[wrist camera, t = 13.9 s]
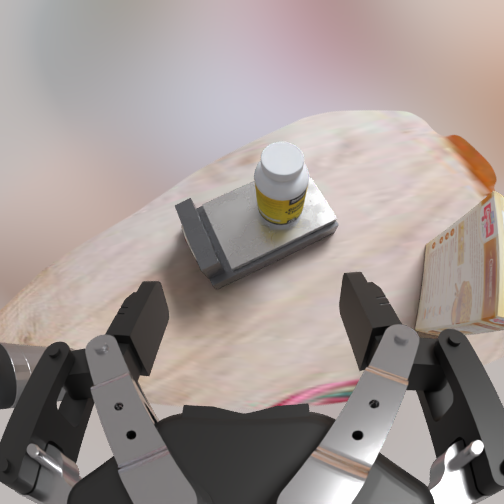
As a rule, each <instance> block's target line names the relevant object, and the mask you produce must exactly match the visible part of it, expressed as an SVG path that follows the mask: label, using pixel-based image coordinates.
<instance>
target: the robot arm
mask: <svg viewBox="0 0 504 504" xmlns="http://www.w3.org/2000/svg"><path fill="white" fill-rule="evenodd" d="M339 309H340V315H341V318H342V321H343V323H344V326H345V329H346V332H347V335H348V338H349V341H350V344H351V346H352V349H353V352H354V355H355V358H356V361H357V364H358V368H359V371H361V370H365V371H364V372H363V374H362V376H361V378H360V380H359V382H358V384H357V385H356V387H355V389H354V391H353V392H352V394H351V396H350V398H349V399H348V401H347V403H346V404H345V406H344V408H343V409H342V411H341V413H340V414H339V416H338V418H337V419H336V420H335V419H333V418H331V417H329V416H326V415H323V414H319V413H315V412H309V405H308V404H298V405H284V406H275V407H271V408H268V409H264V410H260V411H256V412H252V413H246V414H242V413H238V412H233V411H229V410H225V409H221V408H217V407H210V406H191V405H184V407H183V413H181V414H177V415H172V416H169V417H167V418H164V419H162V420H161V421H159V420H158V418H157V416H156V415H155V413H154V411H153V410H152V407H151V406H150V404H149V402H148V400H147V398H146V396H145V394H144V392H143V390H142V388H141V386H140V384H139V382H138V379H139V376H140V375H142V376H150V373H151V370H152V367H153V364H154V361H155V358H156V355H157V352H158V349H159V346H160V343H161V340H162V338H163V335H164V332H165V329H166V326H167V324H168V320H169V310H168V306H167V303H166V299H165V296H164V292H163V289H162V285H161V283H160V282H159V281H144V282H142V284H141V285H140V287H139V289H138V291H137V292H133V293H132V294H131V295H130V296H129V297H127V298H126V299H125V301H124V302H123V304H122V306H121V308H120V309H119V311H118V313H117V314H116V316H115V318H114V320H113V321H112V323H111V325H110V327H109V328H108V330H107V332H106V334H105V335H100V336H97V337H95V338H94V339H92V340H91V341H90V342H89V343H88V344H87V346H86V349H80V350H73V349H70V348H69V346H68V345H67V344H66V343H65V342H56V343H53V344H51V345H50V346H48V347H42V346H30V345H19V344H9V343H1V342H0V409H7V408H14V410H13V413H12V415H11V417H10V420H9V422H8V424H7V427H6V429H5V432H4V434H3V436H2V439H1V442H0V482H2V483H3V484H5V485H6V486H8V487H10V488H11V489H13V490H15V491H16V492H17V493H19V494H20V495H22V496H24V497H26V498H28V499H30V500H31V501H34V502H35V503H37V504H476V503H478V502H480V501H482V500H484V499H486V498H488V497H490V496H492V495H493V494H495V493H497V492H499V491H501V490H502V489H504V408H503V405H502V403H501V401H500V399H499V397H498V395H497V392H496V390H495V388H494V386H493V384H492V382H491V380H490V378H489V377H488V375H487V373H486V371H485V369H484V367H483V365H482V363H481V361H480V360H479V358H478V356H477V354H476V353H475V351H474V349H473V347H472V346H471V344H470V342H469V341H468V339H467V337H466V336H465V335H464V334H463V333H461V332H460V331H458V330H455V329H445V330H443V331H442V332H441V333H440V334H439V336H438V338H437V339H431V338H420V337H419V336H418V334H417V332H416V331H415V330H414V329H412V328H411V327H409V326H406V325H402V324H401V322H400V320H399V318H398V317H397V315H396V313H395V311H394V310H393V308H392V306H391V305H390V304H389V301H388V299H387V298H386V297H385V294H384V293H383V291H382V290H381V288H380V287H378V286H377V285H376V284H374V283H373V282H367V281H366V279H365V277H364V276H363V274H362V272H351V273H344V275H343V279H342V287H341V295H340V302H339ZM406 390H416V392H417V394H418V397H419V400H420V403H421V406H422V409H423V412H424V416H425V419H426V422H427V425H428V429H429V432H430V435H431V439H432V442H433V446H434V450H435V454H436V458H437V459H436V460H435V461H434V462H433V464H432V466H431V469H430V483H429V486H428V487H427V486H426V485H425V484H424V483H422V482H421V481H419V480H418V479H416V478H415V477H413V476H412V475H410V474H409V473H408V472H406V471H405V470H403V469H402V468H400V467H399V466H397V465H396V464H395V463H393V462H392V461H390V460H389V459H388V458H386V457H385V456H384V455H382V454H381V453H380V452H379V451H380V449H381V447H382V445H383V443H384V441H385V439H386V437H387V435H388V433H389V430H390V428H391V426H392V424H393V421H394V419H395V417H396V414H397V412H398V409H399V407H400V405H401V402H402V399H403V397H404V394H405V391H406ZM57 401H62V402H61V404H60V407H59V409H57ZM94 403H95V405H96V409H97V412H98V415H99V418H100V421H101V424H102V427H103V429H104V432H105V434H106V437H107V440H108V442H109V445H110V447H111V450H112V452H113V455H114V456H113V457H112V458H110V459H109V460H108V461H106V462H105V463H104V464H102V465H101V466H100V467H98V468H97V469H96V470H94V471H93V472H91V473H90V474H88V475H87V476H85V477H84V478H83V479H82V478H81V477H80V476H79V469H78V467H77V465H76V461H77V458H78V454H79V450H80V447H81V443H82V440H83V437H84V433H85V430H86V427H87V424H88V421H89V417H90V414H91V411H92V408H93V405H94Z"/></svg>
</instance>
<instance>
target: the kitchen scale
mask: <svg viewBox="0 0 504 504" xmlns="http://www.w3.org/2000/svg"><path fill="white" fill-rule="evenodd" d="M175 208H176V210H177V213H178V215H179V218H180V220H181V223H182V230H183V233H184V236H185V240H186V242H187V243H188V246H189V248H190V250H191V252H192V254H193V256H194V257H195V259H196V261H197V262H198V265H199V267H200V269H201V271H202V272H203V273H204V274H205V275H206V276H207V277H208V278H209V279H210V281H211V283H212V285H213V286H214V287H215V288H216V289H219V288H221V287H223V286H225V285H227V284H229V283H232V282H234V281H236V280H238V279H240V278H242V277H244V276H246V275H248V274H251V273H253V272H255V271H257V270H259V269H261V268H263V267H265V266H267V265H269V264H271V263H273V262H275V261H278V260H280V259H282V258H284V257H286V256H288V255H290V254H292V253H294V252H296V251H298V250H300V249H302V248H304V247H306V246H308V245H310V244H312V243H314V242H316V241H318V240H320V239H322V238H324V237H326V236H328V235H330V234H332V233H334V232H335V231H336V229H337V227H338V223H337V222H334V223H332V224H330V225H328V226H326V227H324V228H322V229H320V230H317V231H315V232H313V233H311V234H309V235H307V236H305V237H303V238H301V239H299V240H297V241H295V242H293V243H291V244H288V245H286V246H284V247H282V248H280V249H278V250H276V251H274V252H272V253H270V254H268V255H266V256H263V257H261V258H259V259H257V260H255V261H253V262H251V263H249V264H247V265H245V266H243V267H240V268H238V269H236V270H234V271H233V270H232V268H231V266H230V264H229V262H228V260H227V258H226V255H225V253H224V251H223V249H222V247H221V245H220V242H219V240H218V238H217V236H216V234H215V232H214V229H213V227H212V225H211V223H210V221H209V218H208V216H207V214H206V212H205V209H204V207H203V206H201V207H199V208H197V209H196V207H195V205H194V203H193V201H192V200H191V198H190V199H187V200H185V201H183V202H181V203H179V204H177V205H175Z"/></svg>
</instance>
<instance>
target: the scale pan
mask: <svg viewBox="0 0 504 504" xmlns="http://www.w3.org/2000/svg"><path fill="white" fill-rule="evenodd" d="M203 207H204V209H205V212H206V214H207V216H208V218H209V221H210V223H211V225H212V227H213V229H214V232H215V234H216V236H217V238H218V240H219V242H220V245H221V247H222V249H223V251H224V253H225V255H226V258H227V260H228V262H229V264H230V266H231V268H232V270H233V271H234V270H236V269H238V268H240V267H243V266H245V265H247V264H249V263H251V262H253V261H255V260H257V259H259V258H261V257H263V256H266V255H268V254H270V253H272V252H274V251H276V250H278V249H280V248H282V247H284V246H286V245H288V244H291V243H293V242H295V241H297V240H299V239H301V238H303V237H305V236H307V235H309V234H311V233H313V232H315V231H317V230H320V229H322V228H324V227H326V226H328V225H330V224H332V223H334V222H336V220H337V217H336V215H335V214H334V212H333V211H332V209H331V208H330V206H329V204H328V203H327V201H326V200H325V198H324V197H323V195H322V194H321V192H320V191H319V189H318V188H317V186H316V185H315V183H314V182H313V180H312V179H311V177H310V176H309V183H308V188H307V192H306V197H305V202H304V207H303V211H302V213H301V215H300V216H299V218H298V219H297V220H296V221H294V222H293V223H291V224H288V225H283V226H279V225H274V224H271V223H269V222H267V221H266V220H265V219H264V218H263V217H262V216H261V215H260V213H259V210H258V206H257V197H256V189H255V181H253V182H251V183H249V184H247V185H244V186H242V187H240V188H237V189H235V190H233V191H231V192H229V193H226V194H224V195H222V196H220V197H218V198H216V199H213V200H211V201H209V202H207V203H205V204H203Z"/></svg>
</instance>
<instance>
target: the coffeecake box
mask: <svg viewBox="0 0 504 504" xmlns="http://www.w3.org/2000/svg"><path fill="white" fill-rule="evenodd" d="M445 329H455V330H458V331H460V332H461V333H463V334H464V335H472V334H480V333H487V332H494V331H501V330H504V196H502V195H501V194H499V193H497V192H495V191H493V192H492V193H491V194H490V195H488V196H487V197H486V198H485V199H484V200H482V201H481V202H480V203H479V204H478V205H476V206H475V207H474V208H473V209H471V210H470V211H469V212H468V213H467V214H465V215H464V216H463V217H462V218H460V219H459V220H458V221H456V222H455V223H454V224H453V225H451V226H450V227H449V228H447V229H446V230H445V231H443V232H442V233H441V234H439V235H438V236H437V237H435V238H434V239H433V240H431V241H430V242H429V243H427V244H426V250H425V262H424V272H423V281H422V289H421V296H420V303H419V309H418V315H417V321H416V326H415V331H419V332H423V333H427V334H432V335H437V336H439V334H440V333H441V332H442V331H443V330H445Z"/></svg>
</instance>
